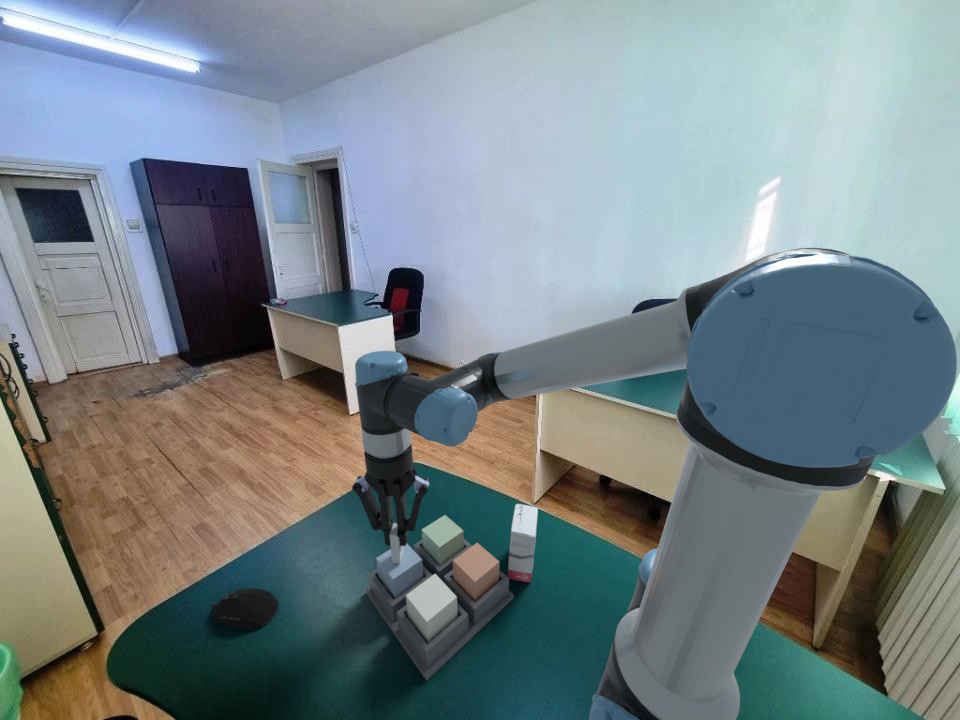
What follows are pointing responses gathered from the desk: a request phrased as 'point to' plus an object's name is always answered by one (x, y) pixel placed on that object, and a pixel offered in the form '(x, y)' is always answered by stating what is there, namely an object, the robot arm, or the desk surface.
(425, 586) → the key ivory
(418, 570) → the key slate
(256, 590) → the gaming mouse
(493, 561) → the key terracotta
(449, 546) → the key sage
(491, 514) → the desk surface
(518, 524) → the ink box
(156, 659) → the desk surface
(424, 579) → the keypad
